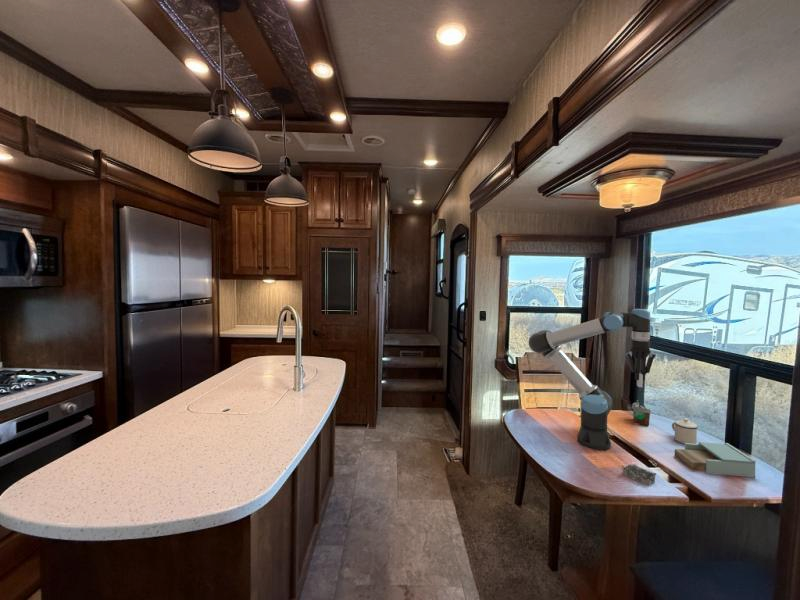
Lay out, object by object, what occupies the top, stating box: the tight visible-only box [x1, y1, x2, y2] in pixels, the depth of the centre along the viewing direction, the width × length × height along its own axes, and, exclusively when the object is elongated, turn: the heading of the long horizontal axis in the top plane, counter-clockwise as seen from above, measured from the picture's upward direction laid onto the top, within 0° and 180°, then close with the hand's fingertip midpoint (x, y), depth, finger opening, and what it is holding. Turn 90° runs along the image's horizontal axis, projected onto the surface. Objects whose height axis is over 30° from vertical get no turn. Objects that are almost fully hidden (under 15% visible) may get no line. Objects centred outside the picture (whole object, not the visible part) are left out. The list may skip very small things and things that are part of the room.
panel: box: [674, 448, 720, 472], centre depth 151 cm, size 18×12×4 cm, turn 81°
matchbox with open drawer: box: [684, 441, 757, 478], centre depth 151 cm, size 17×16×7 cm
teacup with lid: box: [671, 417, 699, 445], centre depth 175 cm, size 12×9×12 cm
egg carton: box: [621, 464, 657, 486], centre depth 142 cm, size 11×8×4 cm
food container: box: [631, 402, 652, 427], centre depth 197 cm, size 12×6×10 cm, turn 172°
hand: (639, 386), depth 170 cm, fingers closed
